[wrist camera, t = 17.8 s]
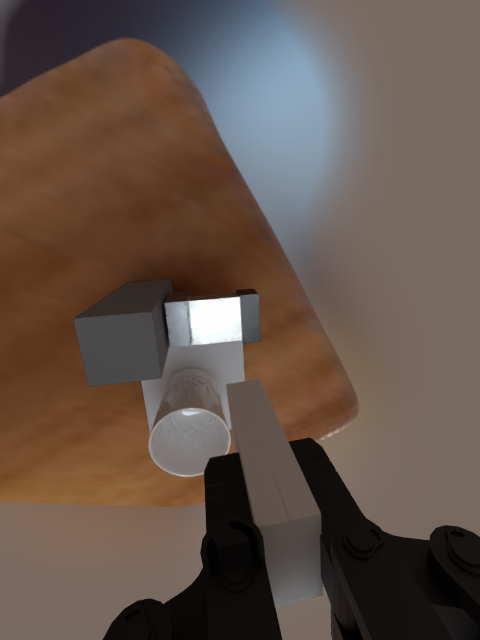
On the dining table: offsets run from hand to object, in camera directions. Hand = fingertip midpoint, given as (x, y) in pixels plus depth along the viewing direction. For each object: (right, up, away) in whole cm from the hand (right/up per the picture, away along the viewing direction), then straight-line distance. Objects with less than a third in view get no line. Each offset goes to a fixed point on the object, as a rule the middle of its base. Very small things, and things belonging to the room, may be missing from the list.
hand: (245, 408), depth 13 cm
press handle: (-3, +5, +17) cm, 18 cm away
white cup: (-6, -5, +25) cm, 26 cm away
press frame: (-6, -1, +25) cm, 26 cm away
